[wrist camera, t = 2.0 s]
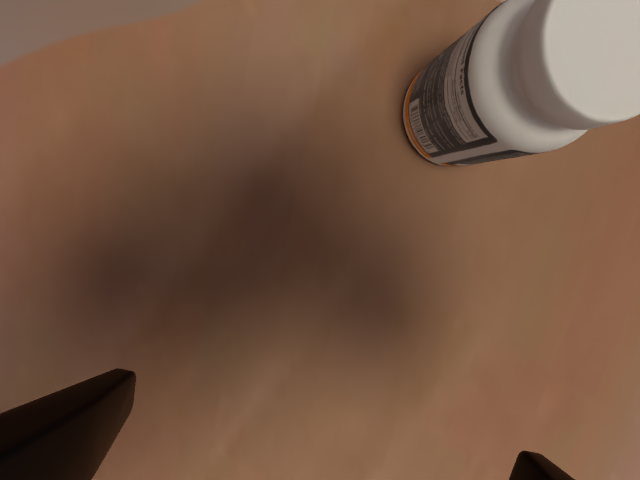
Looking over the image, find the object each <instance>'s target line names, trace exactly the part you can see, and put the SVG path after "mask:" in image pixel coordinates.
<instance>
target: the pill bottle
mask: <svg viewBox="0 0 640 480" xmlns="http://www.w3.org/2000/svg"><path fill="white" fill-rule="evenodd" d="M638 114H640V0H506V1H504V2H503V3H501V4H500V5H499V6H497V7H496V8H495V9H493V10H492V11H491V12H490V13H489V14H488V15H487V16H485V17H484V18H483V19H482V20H481V21H480V22H478V23H477V24H476V25H475V26H473V27H472V28H471V29H470V30H469V31H467V32H466V33H465V34H464V35H463V36H462V37H460V38H459V39H458V40H457V41H455V42H454V43H453V44H452V45H450V46H449V47H448V48H447V49H446V50H444V51H443V52H442V53H441V54H440V55H438V56H437V57H436V58H435V59H434V60H433V61H431V62H430V63H429V64H428V65H427V66H426V67H425V68H424V69H423V70H421V71H420V72H419V74H418V75H417V76H416V77H415V78H414V80H413V81H412V83H411V84H410V86H409V88H408V91H407V93H406V96H405V101H404V107H403V120H404V125H405V130H406V133H407V135H408V137H409V140H410V141H411V143H412V145H413V146H414V147H415V149H416V150H417V151H418V152H419V153H420V154H421V155H422V156H423V157H424V158H426V159H427V160H429V161H431V162H433V163H436V164H438V165H442V166H466V165H472V164H477V163H483V162H489V161H495V160H501V159H508V158H514V157H521V156H525V155H532V154H538V153H544V152H548V151H552V150H555V149H559V148H561V147H563V146H565V145H567V144H569V143H571V142H573V141H574V140H576V139H577V138H579V137H580V136H581V135H583V134H584V133H585V132H586V131H587V130H589V129H594V128H598V127H602V126H606V125H610V124H614V123H618V122H621V121H625V120H627V119H630V118H632V117H635V116H637V115H638Z"/></svg>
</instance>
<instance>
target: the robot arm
mask: <svg viewBox="0 0 640 480" xmlns="http://www.w3.org/2000/svg"><path fill="white" fill-rule="evenodd" d="M135 383H136V374H135V373H134V372H133V371H129V370H125V369H119V368H117V369H114V370H111V371H109V372H106V373H103V374H101V375H98V376H96V377H93V378H91V379H88V380H85V381H83V382H80V383H78V384H75V385H73V386H70V387H67V388H65V389H62V390H60V391H57V392H55V393H52V394H49V395H47V396H44V397H42V398H39V399H37V400H34V401H31V402H29V403H26V404H24V405H21V406H19V407H16V408H13V409H11V410H8V411H6V412H3V413H0V480H92V478H93V476H94V475H95V473H96V471H97V470H98V468H99V466H100V464H101V463H102V461H103V459H104V458H105V456H106V454H107V452H108V451H109V449H110V447H111V445H112V444H113V442H114V440H115V438H116V437H117V435H118V433H119V432H120V430H121V428H122V426H123V425H124V423H125V421H126V419H127V418H128V416H129V414H130V412H131V409H132V406H133V401H134V392H135ZM509 480H575V479H573V478H572V477H571V476H569V475H568V474H567V473H565V472H564V471H563V470H561V469H560V468H559V467H557V466H556V465H555V464H553V463H552V462H551V461H549V460H548V459H547V458H545V457H544V456H543V455H541V454H539V453H534V452H529V451H521V452H520V453H519V455H518V457H517V459H516V462H515V465H514V467H513V470H512V473H511V475H510V478H509Z"/></svg>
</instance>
